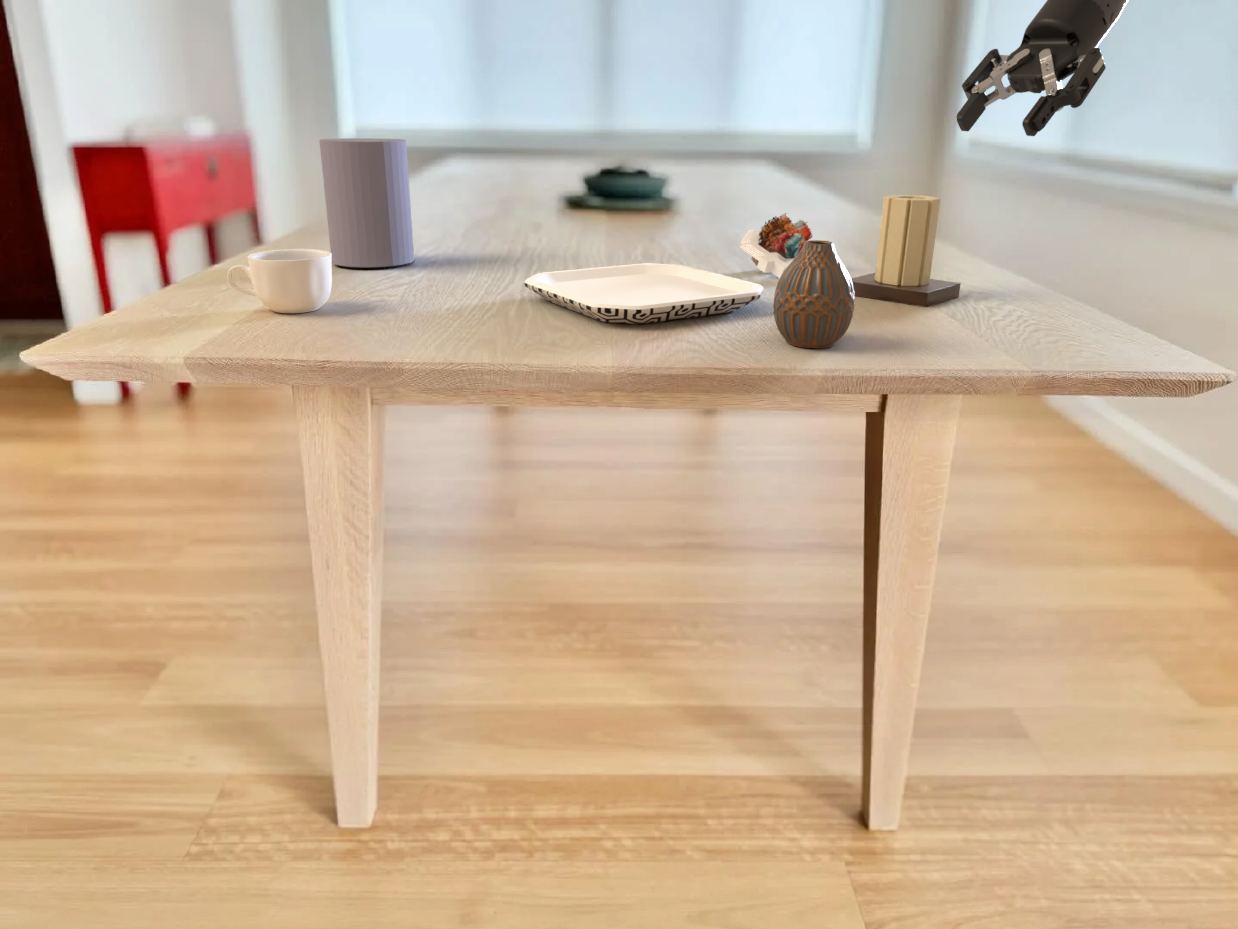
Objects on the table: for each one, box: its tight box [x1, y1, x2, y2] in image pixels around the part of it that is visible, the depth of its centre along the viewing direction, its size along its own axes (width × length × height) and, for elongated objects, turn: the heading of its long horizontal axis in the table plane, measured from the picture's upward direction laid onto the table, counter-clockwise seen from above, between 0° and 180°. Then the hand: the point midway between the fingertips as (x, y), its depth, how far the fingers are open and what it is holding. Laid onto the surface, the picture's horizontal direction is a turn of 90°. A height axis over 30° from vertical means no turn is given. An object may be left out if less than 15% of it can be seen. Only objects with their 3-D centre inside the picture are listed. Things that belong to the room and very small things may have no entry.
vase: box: [773, 239, 856, 349], centre depth 80 cm, size 7×7×9 cm
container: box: [319, 137, 415, 270], centre depth 116 cm, size 10×10×15 cm
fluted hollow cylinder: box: [874, 194, 941, 286], centre depth 101 cm, size 6×6×9 cm
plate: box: [523, 262, 765, 325], centre depth 97 cm, size 21×21×2 cm
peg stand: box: [851, 272, 961, 308], centre depth 101 cm, size 10×8×8 cm
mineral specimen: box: [739, 212, 813, 280], centre depth 116 cm, size 12×12×7 cm
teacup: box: [226, 248, 333, 314], centre depth 92 cm, size 10×8×5 cm
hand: (993, 128), depth 102 cm, fingers open, 8 cm apart
